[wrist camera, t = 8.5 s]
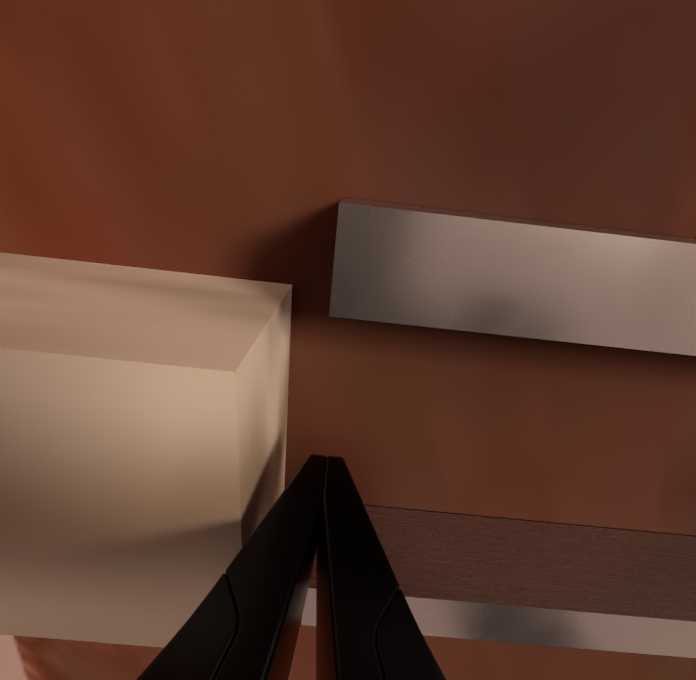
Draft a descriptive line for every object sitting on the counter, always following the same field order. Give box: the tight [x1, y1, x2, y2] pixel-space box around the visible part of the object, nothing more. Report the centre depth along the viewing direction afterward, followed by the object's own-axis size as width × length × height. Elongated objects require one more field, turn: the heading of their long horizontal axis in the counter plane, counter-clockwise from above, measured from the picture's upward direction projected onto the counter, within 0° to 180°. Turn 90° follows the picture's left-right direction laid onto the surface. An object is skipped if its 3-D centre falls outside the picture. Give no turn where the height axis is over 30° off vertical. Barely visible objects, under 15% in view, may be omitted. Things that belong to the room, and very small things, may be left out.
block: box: [0, 253, 292, 647], centre depth 9 cm, size 8×8×5 cm
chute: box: [302, 198, 696, 658], centre depth 10 cm, size 13×18×3 cm
